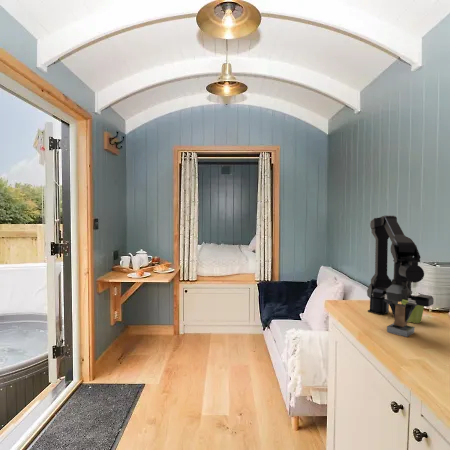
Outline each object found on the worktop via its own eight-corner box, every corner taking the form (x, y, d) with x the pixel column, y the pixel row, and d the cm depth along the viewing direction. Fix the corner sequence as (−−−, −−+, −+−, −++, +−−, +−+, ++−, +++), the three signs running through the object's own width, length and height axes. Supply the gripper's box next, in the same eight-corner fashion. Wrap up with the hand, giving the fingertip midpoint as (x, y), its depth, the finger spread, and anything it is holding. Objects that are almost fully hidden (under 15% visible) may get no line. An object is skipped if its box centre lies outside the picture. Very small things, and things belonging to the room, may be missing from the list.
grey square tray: (386, 332, 127) (387, 326, 126) (394, 327, 131) (394, 322, 131) (407, 337, 122) (407, 331, 122) (414, 332, 126) (414, 327, 126)
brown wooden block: (393, 324, 126) (395, 305, 126) (397, 322, 129) (399, 303, 128) (403, 327, 124) (405, 307, 124) (406, 325, 126) (408, 305, 126)
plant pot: (410, 325, 134) (411, 302, 134) (393, 318, 143) (394, 296, 143) (431, 324, 136) (432, 301, 136) (413, 316, 145) (414, 295, 145)
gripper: (366, 275, 127) (364, 318, 128) (423, 284, 113) (421, 332, 114) (379, 271, 134) (378, 312, 135) (434, 279, 121) (433, 325, 122)
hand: (400, 320), depth 126 cm, fingers closed on brown wooden block, 3 cm apart
